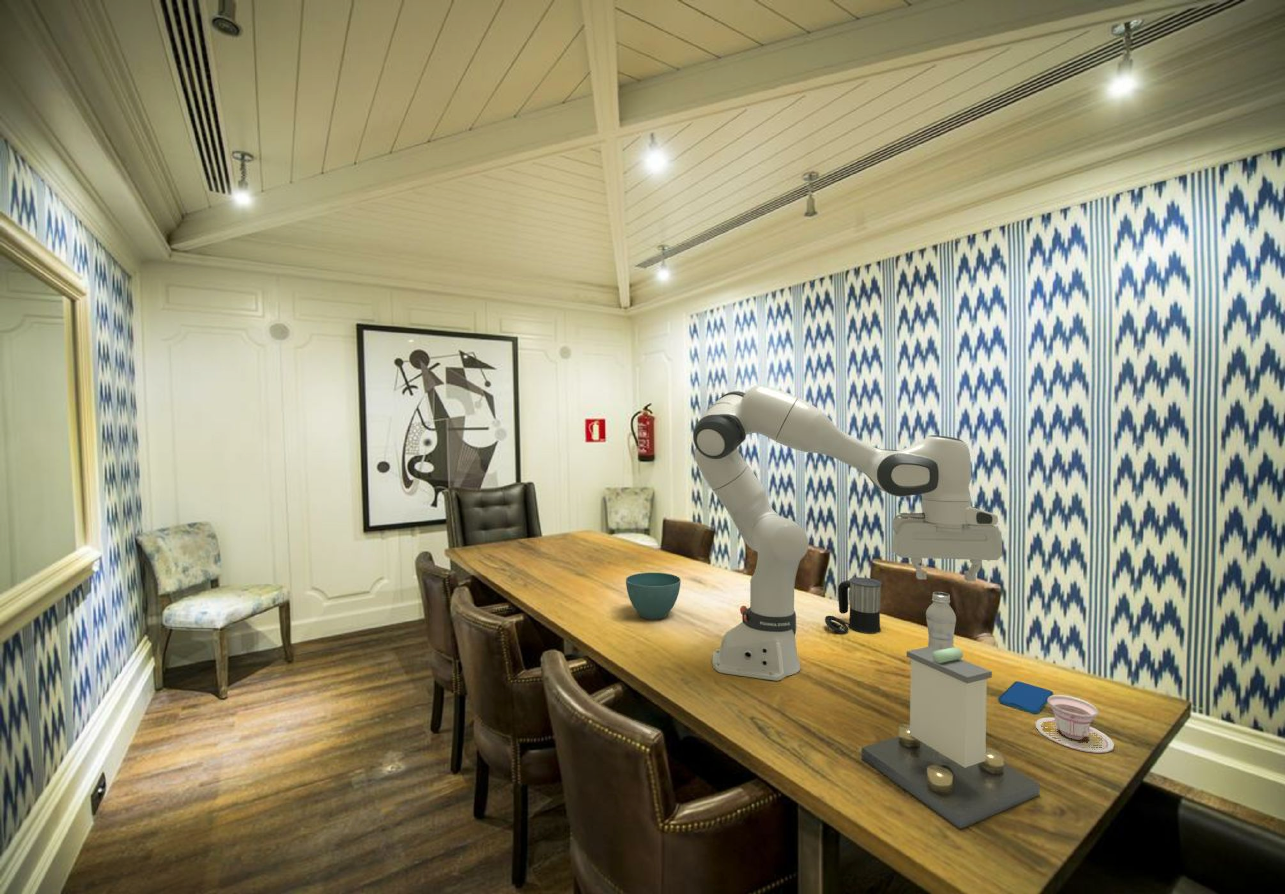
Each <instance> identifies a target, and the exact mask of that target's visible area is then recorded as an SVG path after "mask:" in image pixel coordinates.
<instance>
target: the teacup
mask: <svg viewBox="0 0 1285 894" xmlns="http://www.w3.org/2000/svg"><path fill="white" fill-rule="evenodd" d="M1047 704H1048V706H1049V707H1050V708H1051V711H1052V712H1053V715H1054V717H1052V716H1051V717H1042V718H1041V717H1040V718H1039V719H1037V720H1036V721H1035V722H1034V725H1035V728H1037V729H1038V730H1037V729H1036V730H1037V731H1038V732H1039V733H1040V735H1043V736H1044V737H1045V738H1046V739H1049V740H1050V741H1053V742H1054V743H1057V744H1059V745H1061V746H1064V747H1066V748H1070V749H1073V750H1076V751H1081V752H1084V753H1085V752H1086V753H1093V754H1094V753H1095V754H1102V753H1104V754H1105V753H1109V752H1111V751H1113V750H1114V748H1115V743H1114V742H1113V740H1112V739H1111V738H1110V737H1109V736H1108V735H1107V734H1105V733H1103V732H1102V731H1100V730H1098V729H1097V728H1095V727H1092V726H1091V724H1092V723H1094V719H1096V718H1097V717H1098V716H1099V710H1098V708H1097V707H1095V706H1094V704H1092V703H1090V702H1088V701H1086V700H1083V699H1082V698H1078V697H1075V696H1071V695H1066V694H1065V695H1064V694H1053V695H1052V696H1050V697H1048V699H1047ZM1048 721H1049V722H1050V721H1051V722H1055V725H1053V726H1056V727H1053V728H1054V729H1055V728H1056V729H1058V730H1056V731H1058V732H1050V733H1058V734H1050V735H1058V736H1049V734H1046V733H1049V732H1044V731H1043V730H1042V729H1043V727H1041V725H1042V724H1044V723H1043V722H1048ZM1051 724H1052V723H1051ZM1042 726H1043V725H1042ZM1045 728H1048V727H1045ZM1059 730H1060V732H1061V734H1062V735H1063V736H1062V735H1061V734H1060V733H1059ZM1051 731H1055V730H1051ZM1090 733H1091V734H1090ZM1092 733H1095V735H1096V734H1097V735H1098V736H1097V737H1100V738H1102V740H1103V741H1089V740H1092V738H1091V737H1095V738H1096V736H1094V734H1092ZM1059 735H1060V736H1059ZM1064 735H1065V736H1064ZM1089 735H1093V736H1089ZM1052 737H1056V738H1063V739H1054V738H1052ZM1084 737H1087V738H1088V737H1090V738H1091V739H1089V738H1088V741H1086V742H1088V743H1086V742H1085V741H1084V742H1083V741H1082V742H1083V743H1082V742H1081V741H1080V742H1081V743H1078V742H1079V740H1083V739H1084ZM1068 738H1069V739H1068ZM1071 738H1072V739H1071ZM1058 740H1061V741H1058ZM1062 740H1063V741H1062ZM1064 740H1065V741H1064ZM1069 740H1070V741H1069ZM1071 740H1072V741H1071ZM1097 740H1099V739H1097ZM1070 742H1071V743H1070ZM1089 742H1090V743H1089ZM1093 742H1095V743H1093ZM1096 742H1099V743H1096ZM1101 742H1102V743H1101ZM1097 744H1098V745H1102V746H1093V745H1097ZM1076 745H1077V746H1076ZM1081 745H1083V746H1081ZM1084 745H1090V746H1084ZM1082 747H1086V748H1082ZM1087 747H1088V748H1087ZM1089 747H1090V748H1089ZM1091 747H1095V748H1091ZM1096 747H1098V748H1096ZM1099 747H1102V748H1099ZM1092 749H1093V750H1092ZM1094 749H1095V750H1094Z"/></svg>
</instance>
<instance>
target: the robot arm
mask: <svg viewBox="0 0 1285 894" xmlns="http://www.w3.org/2000/svg"><path fill="white" fill-rule="evenodd" d="M692 434H693V436H692V441H693V444H694V446H695V448H696V450H695V451H694V460H695V463H696V465H697V468H698V469H699V471H700V473H701V475H702V477H703V479H704V480H705V481H706V483H707V484H708V486H709V488H710V489H711V490H712V492H713V493H714V494H715V496H716V497H717V499H718V500H719V501H720V502H721V504H722V505H723V507H724V508H725V510H726V511H727V512H728V514H729V516H730V518H731V519H732V521H733V523H734V525H735V527H736V528H737V530H738V533H739V534H740V536H741V538H742V539H743V540H744V542H745V544H746V545H747V546H748V548H749V549H751V550H753V551H755V552H756V553H757V561H756V566H755V570H754V573H753V575H752V576H751V578H750V582H749V583H750V584H749V585H750V588H749V589H750V591H749V593H750V596H749V597H750V598H749V599H750V603H749V604H750V607H747V606H746V605H741V607H740V608H739V612H740V614H741V618H742V619H741V620H742V622H740V623H739V624H737V625H735V627H732V628H731V629H730V630H728V631H727V632H725V634H724V635H723V636H722V637H723V638H722V640H721V645H720V647H719V648H716V649H715V650H714V651H713V653H712V655H711V656H712V658H711V664H712V667H713V668H714V669H715V670H716V671H717V672H718V673H720V674H726V675H727V674H728V675H732V676H742V677H746V678H747V677H749V678H756V679H761V680H767V681H768V680H770V681H781V680H783V679H784V678H785V677H788V676H792V675H795V674H797V673H798V672H799V671H800V670H801V669H802V667H801V662H800V659H799V655H798V649H797V642H796V633H797V632H796V631H797V614H796V611H795V584H796V583H795V582H796V577H797V572H798V568H799V566H800V565H799V564H800V561H801V560H802V559H803V558H804V557H805V555H807V552H808V550H809V542H810V541H809V538H808V535H807V532H806V531H805V530H804V529H803V528H802V527H801V526H800V525H799V524H798V523H796V522H795V521H794V520H792V519H790V518H786V517H783V516H781V515H779V514H778V513H777V512H776V511H775V510H774V509H773V507H772V505H771V504H770V501H769V499H768V497H767V494H766V488H765V487H764V485H763V484H762V483H761V481H760V480H759V478H758V477H757V476H756V475H755V473H754V471H753V470H752V469H751V467H750V466H749V464H748V463H747V462H746V460H745V459H744V458H743V456H742V455H741V453H740V452H739V449H738V448H739V446H740V445H741V444H742V443H744V442H745V440H746V438H747V436H748V435H750V434H759V435H762V436H765V437H766V438H768V439H771V440H772V441H774V442H776V443H778V444H779V445H783V446H786V447H788V448H789V449H794V450H795V451H800V452H804V453H812V454H819V455H820V454H821V455H825V456H828V457H831V458H833V459H836V460H838V461H840V462H841V463H843V464H845V465H848V466H849V467H852V468H854V469H856V470H859V471H860V472H861V473H863V474H864V475H866V477H868V479H869V480H870V481H871V483H872V484H873V485H874V486H875V487H876V488H877V489H879V490H880V491H882V492H884V493H887V494H889V495H891V496H893V497H898V498H906V497H910V496H915V495H921V512H913V513H911V512H901V513H899V514H897V515H896V516H895V517H893V520H892V529H893V531H894V533H893V539H892V552H893V553H894V554H895V555H896V556H897V557H899V558H902V559H903V558H905V559H906V558H908V559H910V562H911V564H912V567H914V569H915V574H916V575H915V577H916V579H917V580H921V581H922V580H923V581H924V580H927V578H928V577H927V575H928V572H927V571H926V569H922V567H921V566H920V564H921V563H922V559H934V560H937V559H940V560H942V559H943V560H969V563H970V564H971V566H970V567H969V569H968V570H963V571H964V572H963V575H964V576H963V578H964V581H967V582H976V581H977V580H976V579H977V578H976V577H977V573H978V571H979V570H980V569H981V567H982V566H983V561H998V560H1000V558H1002V555H1003V541H1002V535H1001V530H1000V529H999V528H998V526H996V525H997V524H998V523H999V517H998V515H996V514H995V513H992V512H990V511H986V510H983V509H981V508H979V507H975V506H972V498H971V495H970V491H969V490H970V484H971V482H972V481H971V480H972V465H971V464H972V463H971V454H970V449H969V447H968V444H967V443H966V442H965V441H964V440H962V439H960V438H956V437H952V436H951V437H950V436H946V435H938V434H937V435H936V434H931V435H927V436H926V437H925V438H924V439H922V440H920V441H918V442H916V443H914V444H912V445H910V446H907V447H905V448H901V449H899V450H897V449H884V448H878V447H875V446H872V445H870V444H868V443H866V442H864V441H862V440H860V439H858V438H856V437H854V436H851V435H850V434H848V433H845V432H844V431H842V430H841V429H840V428H838V426H836V425H835V424H834V423H833V422H832V420H831V419H830V418H829V417H828V415H826V414H825V413H824V412H823V411H822V410H821V409H819V408H817V407H816V406H814V405H813V404H811V403H809V402H808V401H807V400H804V399H802V398H801V397H798V396H796V395H793V394H791V393H788V392H787V391H783V390H780V389H777V388H773V387H770V386H767V385H759V384H757V385H754V386H753V387H751V388H750V389H748V390H747V391H746V393H745V392H743V391H738V390H736V391H735V390H734V391H730V392H726V393H724V394H723V395H722V396H720V398H718V399H717V400H716V401H715V402H714V403H713V404H711V406H710V407H709V408H708V409H707V410H706V412H705V413H704V415H703V416H702V417H701V418H700V419H699V421H698V422H697V423H696V426H695V428H694V430H693V433H692Z"/></svg>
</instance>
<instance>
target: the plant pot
mask: <svg viewBox="0 0 1285 894" xmlns="http://www.w3.org/2000/svg"><path fill="white" fill-rule="evenodd" d="M681 581H682V580H681V578H680V577H679V576H677V575H675V574H672V573H671V574H670V573H665V572H640V573H634V574H631V575H628V576H627V577H626V578H625V587H626V592H627V596H628V598H629V600H630V603H631V605H632V606H633V608H634V609H635V611H636V612H637V614H638V615H639V616H640V617H641V618H643V619H646V620H651V621H652V620H661V619H664V618H666V617H667V616H668V615H669V613H670V612H671V610H672V609H673V608H674V606H675V604H676V602H677V599H678V596H679V593H680V589H681V583H682V582H681Z"/></svg>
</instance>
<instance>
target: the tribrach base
mask: <svg viewBox="0 0 1285 894" xmlns="http://www.w3.org/2000/svg"><path fill="white" fill-rule="evenodd" d="M861 759H862V760H863V761H864V762H865V763H867V764H869V765H870V766H871V767H873V768H874V769H876V770H877V771H878V772H880V773H881V774H882V775H884V776H885V777H887V778H888V779H889V780H891V781H892V782H894V783H895V784H897V785H898V786H900V788H902V789H904V790H905V791H906V792H908V793H909V794H910V795H911V796H913V797H915V798H916V799H917V800H919V801H921V802H922V804H924V805H926V806H927V807H928V808H930V809H931V810H932V811H934V812H936V813H937V814H938V815H940V816H941V817H942V818H944V819H945V820H947V821H948V822H950V823H951V824H952V825H953V826H954V827H957V828H958V829H959V830H962V829H965V828H967V827H969V826H972V825H973V824H976V823H978V822H981V821H983V820H985V819H988V818H991V817H992V816H995V815H997V814H1000V813H1001V812H1005V811H1006V810H1009V809H1011V808H1015V807H1016V806H1018V805H1020V804H1023V803H1025V802H1027V801H1030V800H1032V799H1034V798H1037V797H1039V796H1040V794H1041V793H1040V788H1041V787H1040V785H1041V784H1040V782H1038V781H1036V780H1035V779H1033V778H1030V777H1029V776H1027V775H1025V774H1023V773H1022V772H1020V771H1018V770H1016V769H1015V768H1013V767H1011V766H1010V765H1007V764H1006V763H1004V761H1005V758H1004V755H1003V754H1002V753H1001V752H1000V751H998V750H996V749H994V748H990V747H986V752H985V761H983V762H981V763H978V764H975V765H972V766H969V767H966V768H964V767H963V766H961V765H959V764H958V763H956V762H954V761H953V762H952V763H950V764H945V763H943V762H942V761H941V760H940V759H939V757H938V751H936V750H934V749H933V748H931V747H929V746H928V745H926V744H924V743H923V742H921V741H919V740H918V739H916V738H914V737H913V736H911V735H910V723H909V724H908V723H907V724H906V723H901V724H899V725H898V736H895V737H891V738H889V739H886V740H882V741H879V742H875V743H872V744H869V745H866V746H862V747H861Z"/></svg>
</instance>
